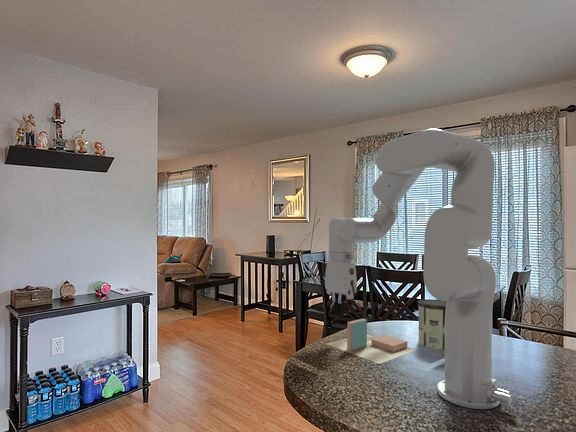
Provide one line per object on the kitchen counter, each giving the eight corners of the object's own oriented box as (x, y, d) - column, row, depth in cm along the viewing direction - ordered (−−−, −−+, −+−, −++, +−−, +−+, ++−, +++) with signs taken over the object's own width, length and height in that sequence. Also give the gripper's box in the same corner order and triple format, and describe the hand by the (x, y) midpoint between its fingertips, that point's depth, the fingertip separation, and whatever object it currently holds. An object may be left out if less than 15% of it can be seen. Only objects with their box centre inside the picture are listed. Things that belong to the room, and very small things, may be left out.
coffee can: (445, 342, 120) (445, 299, 121) (459, 353, 110) (459, 306, 110) (413, 341, 121) (413, 298, 121) (424, 352, 110) (424, 305, 111)
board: (417, 354, 109) (417, 349, 109) (379, 368, 98) (379, 363, 98) (364, 337, 125) (364, 333, 125) (326, 347, 114) (326, 344, 114)
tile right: (385, 340, 118) (407, 347, 111) (371, 345, 113) (393, 352, 107) (385, 335, 118) (407, 341, 111) (371, 339, 113) (393, 346, 107)
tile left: (367, 346, 112) (367, 319, 112) (351, 351, 108) (351, 323, 108) (362, 344, 113) (362, 318, 114) (347, 349, 109) (347, 322, 109)
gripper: (366, 258, 113) (365, 318, 113) (331, 254, 125) (330, 308, 125) (350, 260, 108) (348, 322, 108) (315, 255, 120) (314, 311, 120)
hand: (339, 314), depth 117 cm, fingers closed
